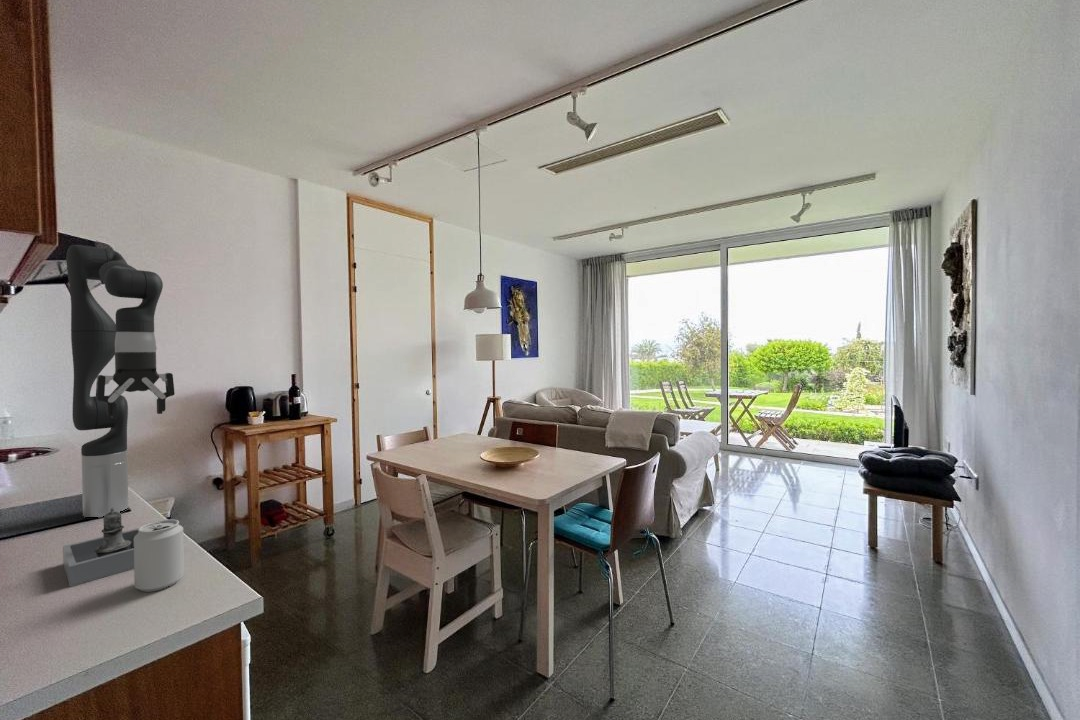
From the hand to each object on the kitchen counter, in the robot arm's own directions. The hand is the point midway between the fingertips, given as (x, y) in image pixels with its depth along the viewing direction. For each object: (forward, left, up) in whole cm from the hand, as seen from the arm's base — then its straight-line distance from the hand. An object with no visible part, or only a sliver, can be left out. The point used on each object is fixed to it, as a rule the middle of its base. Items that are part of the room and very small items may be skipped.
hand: (137, 415), depth 109 cm
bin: (+14, -6, -30) cm, 34 cm away
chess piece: (+14, -6, -30) cm, 34 cm away
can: (+33, -2, -30) cm, 45 cm away
